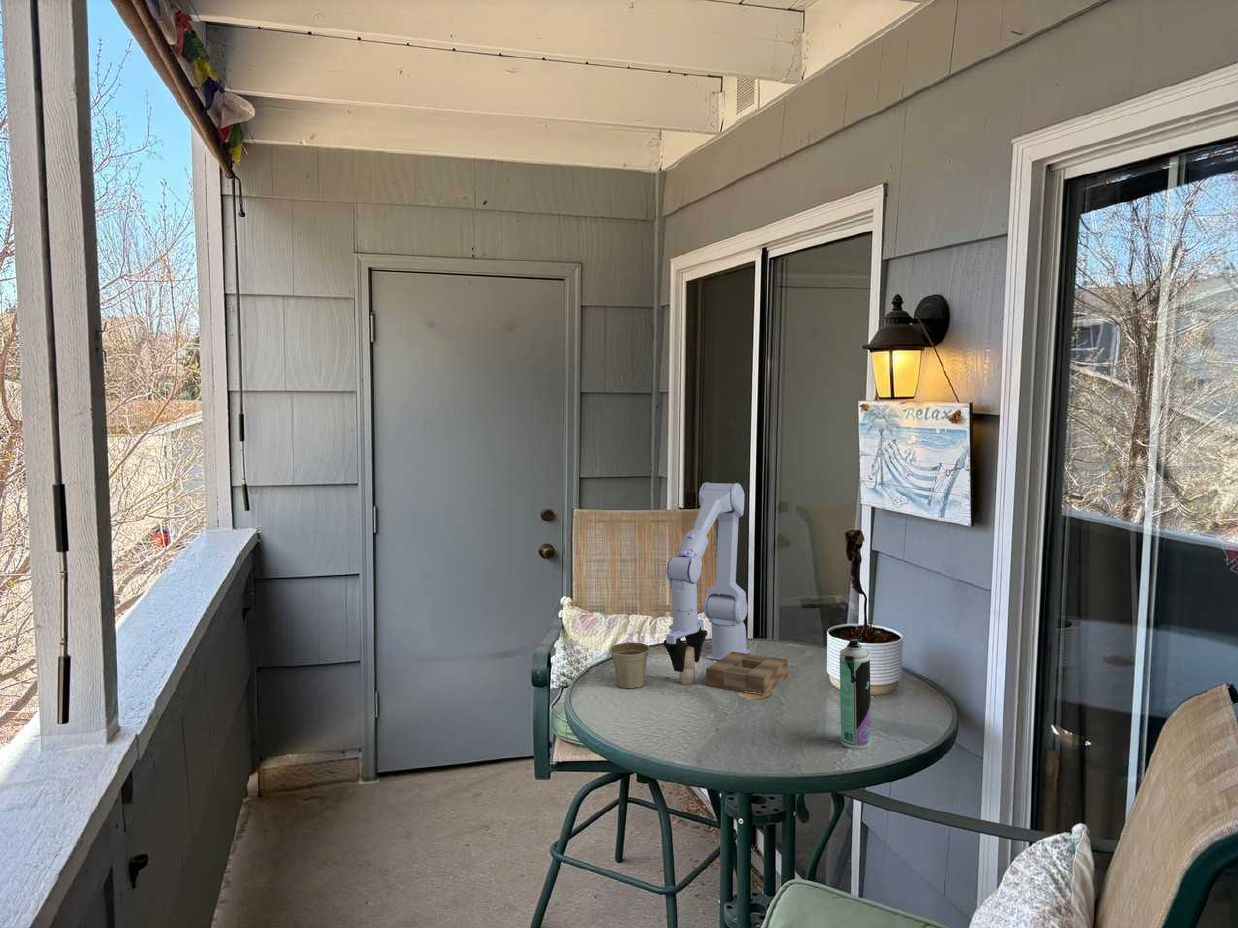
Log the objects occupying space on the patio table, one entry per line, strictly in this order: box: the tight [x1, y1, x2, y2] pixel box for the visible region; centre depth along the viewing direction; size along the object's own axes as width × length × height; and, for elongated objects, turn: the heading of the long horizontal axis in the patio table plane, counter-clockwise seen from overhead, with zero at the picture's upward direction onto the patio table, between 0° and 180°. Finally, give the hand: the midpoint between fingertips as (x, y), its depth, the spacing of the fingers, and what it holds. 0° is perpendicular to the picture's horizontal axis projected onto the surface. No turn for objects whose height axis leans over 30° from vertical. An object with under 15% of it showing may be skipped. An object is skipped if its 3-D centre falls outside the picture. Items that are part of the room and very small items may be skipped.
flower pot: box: [608, 641, 651, 689], centre depth 195 cm, size 9×9×9 cm
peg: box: [678, 647, 696, 686], centre depth 195 cm, size 4×4×8 cm
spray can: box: [839, 638, 872, 750], centre depth 158 cm, size 6×6×20 cm
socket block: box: [705, 652, 789, 694], centre depth 195 cm, size 14×14×4 cm
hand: (686, 666), depth 195 cm, fingers open, 7 cm apart
